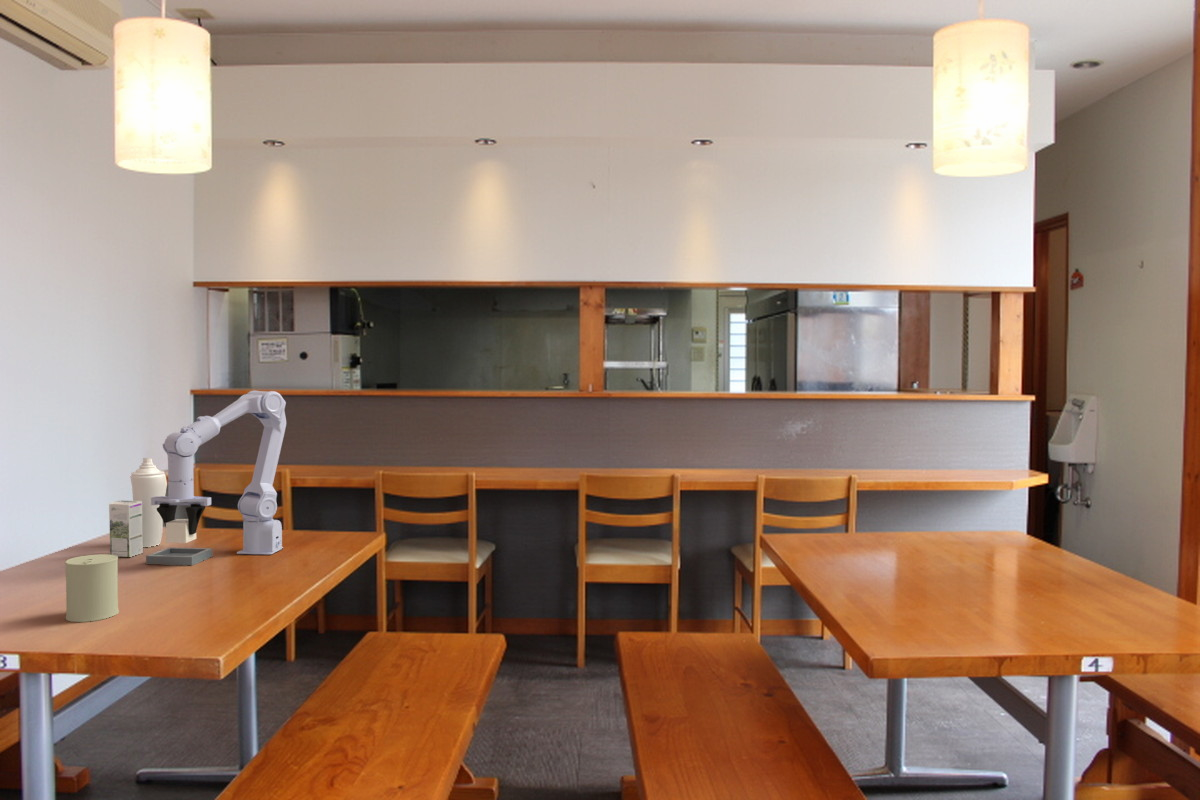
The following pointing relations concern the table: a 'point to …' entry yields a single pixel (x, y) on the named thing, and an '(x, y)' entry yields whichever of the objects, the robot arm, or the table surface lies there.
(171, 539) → the cream cube
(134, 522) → the syrup box
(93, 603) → the can
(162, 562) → the slate dish
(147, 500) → the spray can
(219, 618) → the table surface
